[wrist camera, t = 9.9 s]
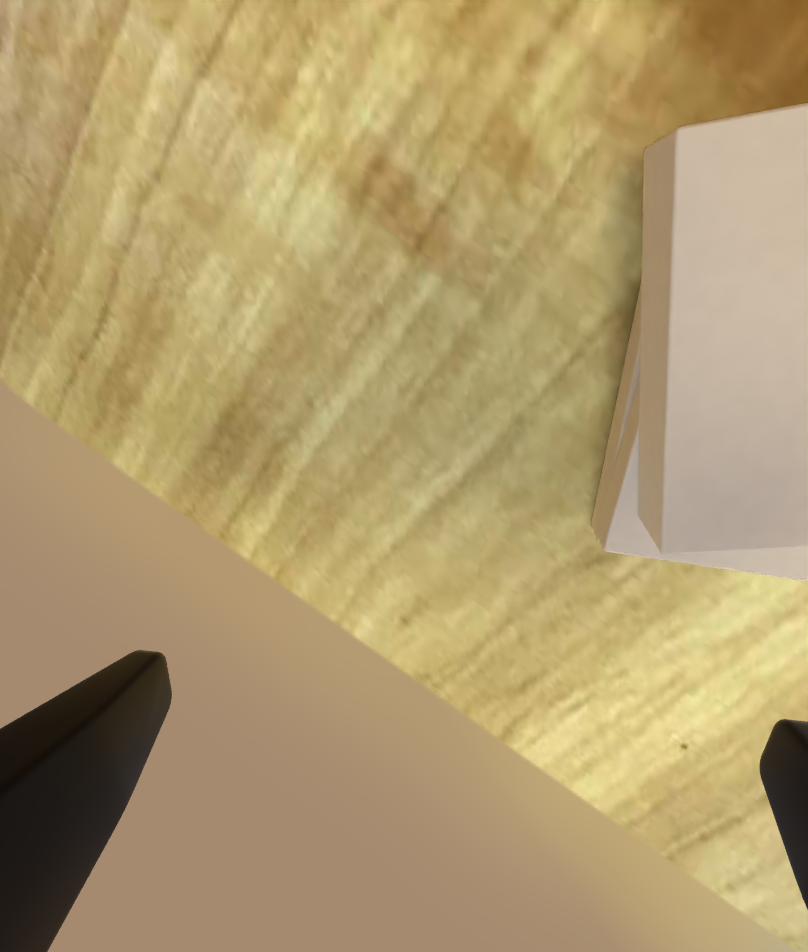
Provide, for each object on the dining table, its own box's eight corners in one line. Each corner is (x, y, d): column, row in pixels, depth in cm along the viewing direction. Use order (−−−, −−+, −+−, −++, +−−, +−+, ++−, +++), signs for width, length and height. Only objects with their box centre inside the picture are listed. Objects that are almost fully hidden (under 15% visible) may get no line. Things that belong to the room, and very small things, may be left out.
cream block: (636, 516, 17) (661, 556, 14) (643, 147, 13) (676, 126, 11) (874, 499, 16) (939, 540, 13) (953, 91, 12) (1061, 55, 10)
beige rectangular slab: (586, 526, 20) (600, 561, 17) (652, 204, 15) (681, 196, 13) (800, 547, 19) (842, 586, 17) (928, 215, 15) (1007, 209, 13)
